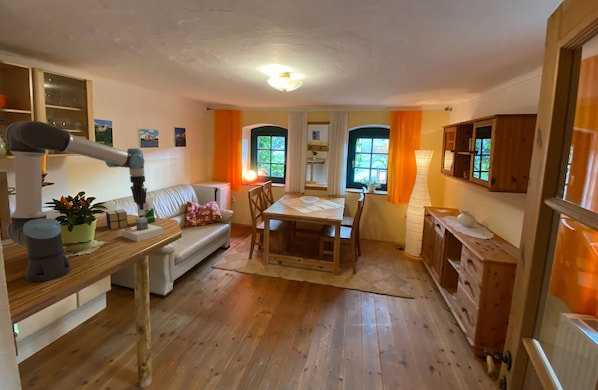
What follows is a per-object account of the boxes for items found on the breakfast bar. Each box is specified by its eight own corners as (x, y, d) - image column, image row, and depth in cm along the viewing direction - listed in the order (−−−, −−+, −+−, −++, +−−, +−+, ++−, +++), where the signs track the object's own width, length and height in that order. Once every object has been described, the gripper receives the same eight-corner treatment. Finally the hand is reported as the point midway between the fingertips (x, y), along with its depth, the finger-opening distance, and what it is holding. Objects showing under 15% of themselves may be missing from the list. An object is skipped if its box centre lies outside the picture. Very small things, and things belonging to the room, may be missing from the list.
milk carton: (148, 220, 212) (146, 192, 208) (157, 221, 209) (155, 193, 205) (137, 223, 204) (134, 194, 201) (146, 225, 201) (144, 195, 197)
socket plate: (137, 241, 170) (136, 233, 169) (121, 236, 178) (121, 228, 177) (162, 234, 184) (162, 226, 183) (147, 229, 192) (146, 222, 191)
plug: (141, 236, 178) (140, 219, 176) (137, 234, 180) (135, 218, 178) (148, 234, 182) (147, 218, 180) (144, 232, 184) (142, 217, 182)
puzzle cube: (107, 226, 198) (105, 211, 196) (124, 223, 204) (122, 209, 202) (110, 229, 190) (108, 214, 188) (128, 226, 197) (126, 211, 195)
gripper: (150, 175, 174) (153, 215, 178) (137, 173, 180) (140, 212, 185) (137, 177, 167) (141, 218, 172) (124, 175, 174) (128, 214, 179)
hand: (141, 214), depth 178 cm, fingers closed
